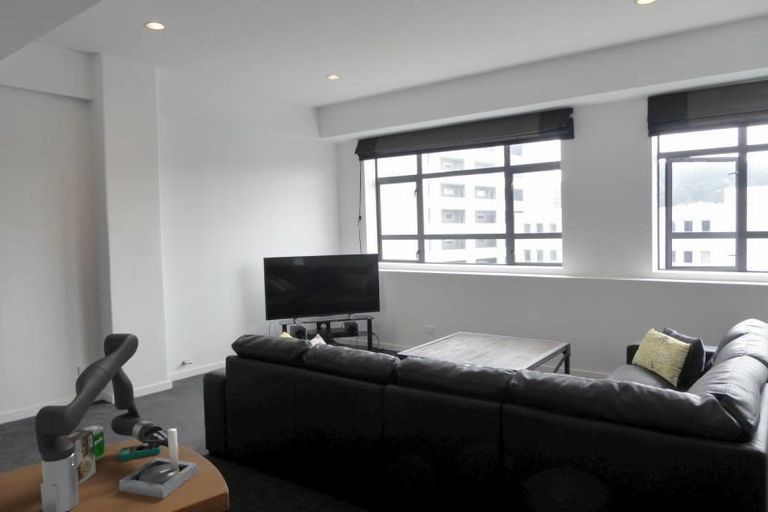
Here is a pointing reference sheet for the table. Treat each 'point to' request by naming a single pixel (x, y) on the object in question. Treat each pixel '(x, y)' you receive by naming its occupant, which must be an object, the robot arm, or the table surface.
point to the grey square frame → (158, 490)
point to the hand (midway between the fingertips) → (172, 444)
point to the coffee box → (83, 453)
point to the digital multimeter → (137, 452)
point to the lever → (164, 471)
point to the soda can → (97, 440)
